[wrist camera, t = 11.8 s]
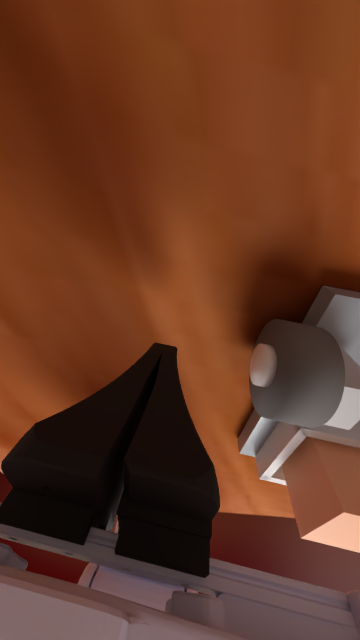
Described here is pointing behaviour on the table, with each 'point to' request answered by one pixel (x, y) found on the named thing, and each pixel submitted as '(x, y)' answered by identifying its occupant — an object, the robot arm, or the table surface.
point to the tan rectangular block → (325, 492)
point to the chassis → (354, 409)
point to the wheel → (296, 374)
